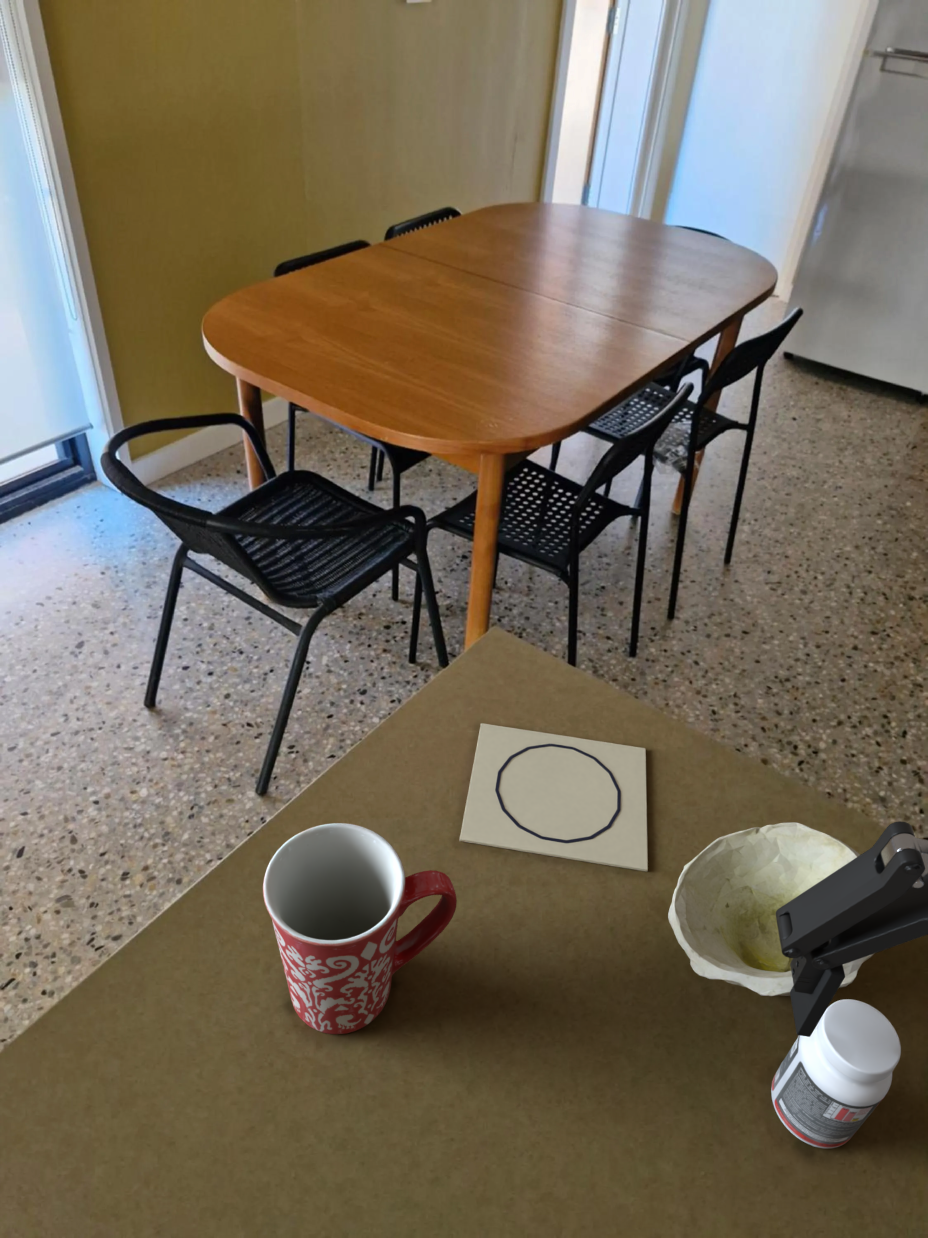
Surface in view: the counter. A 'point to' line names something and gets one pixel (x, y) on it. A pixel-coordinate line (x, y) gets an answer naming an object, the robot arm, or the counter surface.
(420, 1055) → the counter surface
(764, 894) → the bowl
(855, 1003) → the pill bottle
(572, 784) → the beige flat square sheet
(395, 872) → the mug
